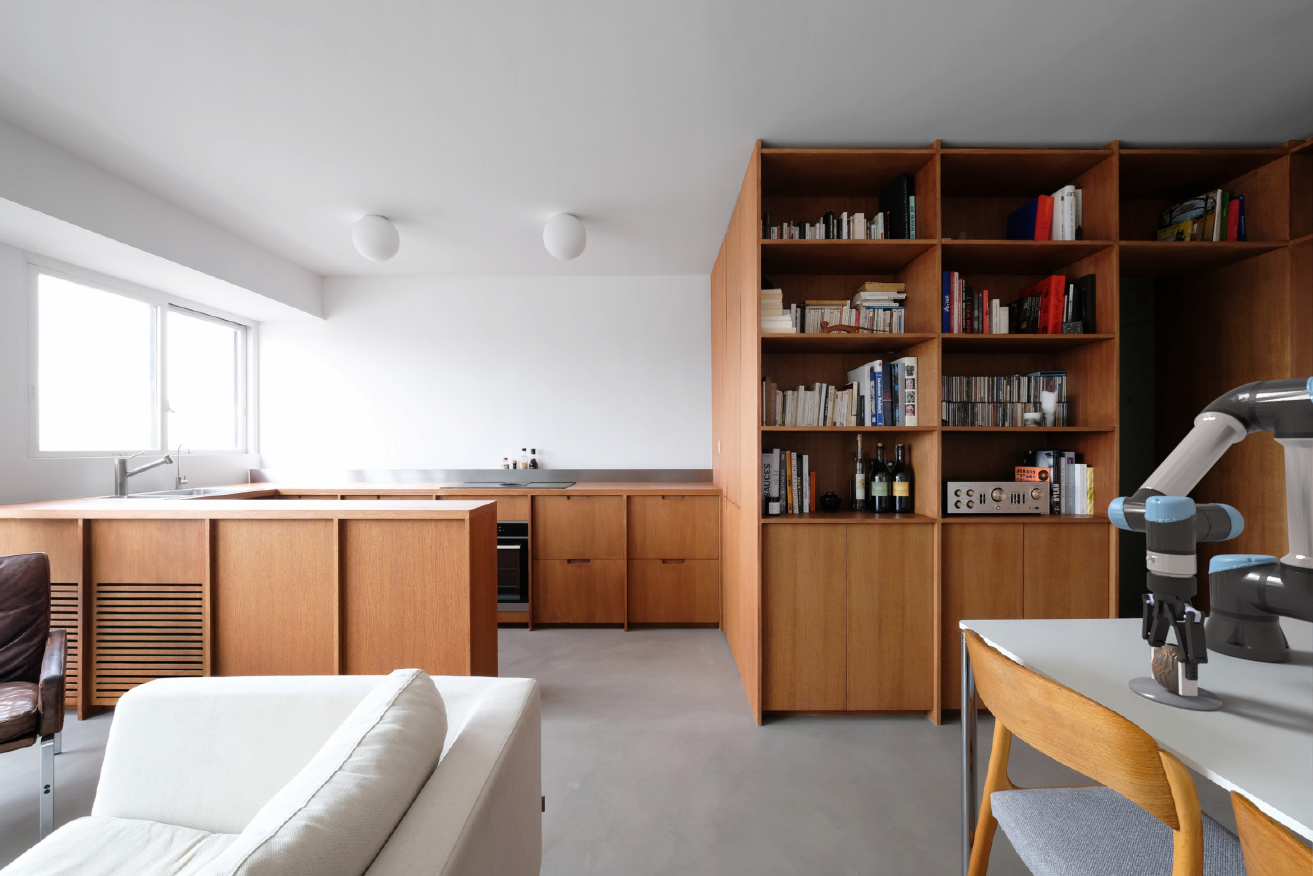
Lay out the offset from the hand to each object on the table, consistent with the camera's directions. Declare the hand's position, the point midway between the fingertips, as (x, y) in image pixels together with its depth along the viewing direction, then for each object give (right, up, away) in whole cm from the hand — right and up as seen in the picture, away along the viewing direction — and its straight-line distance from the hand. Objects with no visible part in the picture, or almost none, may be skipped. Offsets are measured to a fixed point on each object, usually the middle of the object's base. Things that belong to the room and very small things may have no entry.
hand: (1173, 686), depth 115 cm
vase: (0, -1, 0) cm, 1 cm away
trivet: (0, -2, 0) cm, 2 cm away
